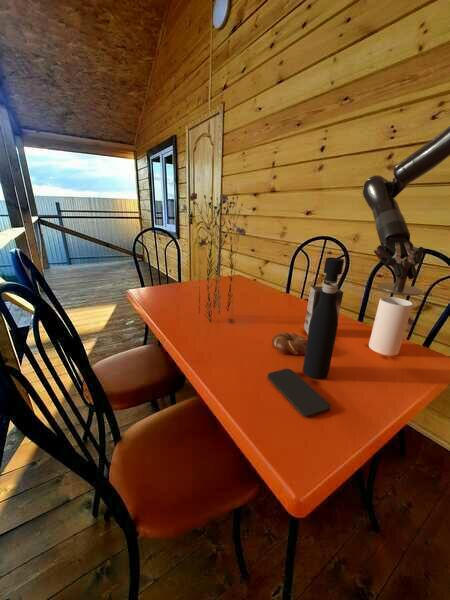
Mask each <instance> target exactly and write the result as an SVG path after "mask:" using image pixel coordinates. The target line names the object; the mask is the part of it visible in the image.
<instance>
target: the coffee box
mask: <svg viewBox="0 0 450 600" xmlns="http://www.w3.org/2000/svg"><path fill="white" fill-rule="evenodd" d="M322 288H323V286H316V285H315V286H313V285H310V288H309V296H308V301H307V307H306V308H307V309H306V312H305V313H306V314H305V320H304V324H303V329H304V330H305V332H306V334H307V335H308V332H309V325H310V320H311V317H312V314H313V312H314V310H315V308H316V306H317V304H318V302H319V299H320V293H321V290H323V289H322ZM336 292H337V293H338V294H337V300H336V307H337V313H338V318H339V317H340V312H341V306H342V303H343V297H344V292H343V290H341V289H339V288H337V291H336Z"/></svg>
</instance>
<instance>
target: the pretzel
mask: <svg viewBox="0 0 450 600" xmlns="http://www.w3.org/2000/svg"><path fill="white" fill-rule="evenodd" d="M271 345H272V347H273V348H275V349H276V350H277V351H278V352H279V353H280V354H283V355H294V356H297V355H299V356H302V355H305V351H306V345H307V339H306V337H304V336H303V335H300V336H299V334H297V333H295V332H293V333H292V332H291V333H289V332H280V333H277V334H275V335H274V336H273V337H272V339H271Z"/></svg>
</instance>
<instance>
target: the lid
mask: <svg viewBox="0 0 450 600" xmlns="http://www.w3.org/2000/svg"><path fill="white" fill-rule="evenodd" d="M400 264H402V266H403V269H404V272H405V277H403V278H402V279H398V278H397V277H396V279H395V282H380V283H377V284H376V288H377V289H378V290H380V291H383V292H386V293H390V294H395V295H401V296H409V297H410V296H411V297H415V296H416V297H417V296H421V295H422V294H423V290H422V289H420V288H419V287H416V286H412V285H408V284H406V283H407V280H408V273H409V269H410V265H411V262H409V261H408V262H405V261H401V263H400Z"/></svg>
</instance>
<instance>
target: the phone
mask: <svg viewBox="0 0 450 600" xmlns="http://www.w3.org/2000/svg"><path fill="white" fill-rule="evenodd" d="M267 379H268V380H269V381H270V382H271V383H272V384H273V386H274V387H275V388H276V389H277V390H278V391H279V392H280V393H281V395H283V396H284V397H285V399H286V400H287V401H288V402H289V403H290V404H291V405H292V406H293V407H294V408H295V409H296V410H297V411H298V413H299V414H300V415H301V416H303V418H312V417H315V416H317V415H320V414H323V413H325V412H329V411H330V410H331V406H332V405H331V404H330V402H328V401H327V400H326V399H325V398H324V397H323V396H322V395H320V393H319V392H317V391H316V390H315V389H314V388H313V387H312V386H311V385H309V384H308V383H307V382H306V381H305V380H304V379H303V378H302V377H301V376H299V374H297V373H296V372H295V371H294V370H293V369H291V368H283V369H280V370H276V371H272V372H268V373H267Z"/></svg>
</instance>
